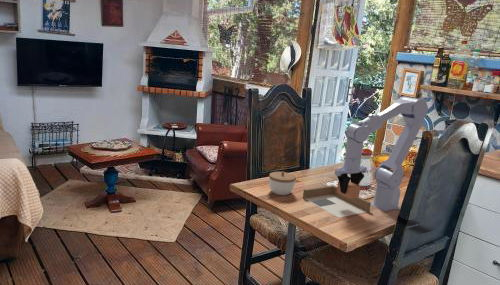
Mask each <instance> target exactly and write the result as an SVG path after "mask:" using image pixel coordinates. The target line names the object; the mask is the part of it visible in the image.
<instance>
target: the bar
mask: <svg viewBox="0 0 500 285" xmlns="http://www.w3.org/2000/svg"><path fill="white" fill-rule="evenodd" d="M336 187H337V193H339V194H341V195H343V196H345V197H347V198H349V199H353V198H358V197H360V193H361V185H360V184H359V185H357V184H355V183H353V182H351V180H350V181H349V184H348V187H347V192H346V194H344V193H342V192H341V190H340V183H339V180H338V181H337V186H336Z"/></svg>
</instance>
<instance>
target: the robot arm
mask: <svg viewBox="0 0 500 285" xmlns="http://www.w3.org/2000/svg"><path fill="white" fill-rule="evenodd" d="M428 111H429V107H428V102H427V101H426V100H425V99H424V98H418V97H416V98H415V97H410V96H407V95H403V96H401V97H400V98H397V99H396V100H395V102H394V103H393V104H391V105H389V106H388V107H387V108H386V109H384V110H382V111H381V112H380V113H378V114H376V113H373V114H372V113H370V114H368V116H367V117H365V118H364V119H363V120H359V121H358V122H357V123H351V124H349V126H348V127H347V128H346V130H344V136H346V148H345V155H344V164H343V165H342V167H340V168H338V169H334V175H335V176H336V177H337V180H338V181H339V183H340V190H341V192H342V193H344V194H346V192H347V187H348V184H349V181H350V182H353V183H355V184H357V185H360V183H361V182H362V180H363V179H364V177H365V174H366V173H367V170H368V168H367V167H366V166H363V165H362V166H361V162H362V154H363V149H364V142H366V141H367V140H368V138H369V136H370V135H371V134H373V133H374V132H376V131H379V129H382V127H383V125H384V123H385V122H387V121H389V120H390V119H392V118H395V117H397V116H398V115H401V117H402V118H403V119H404V122H405V124H404V127H403V128H402V130H401V132H400V134H399V136H398V138H397V140H396V142H395V144H394V146H393V148H392V150H391V152H390V155H389V156H388V158H387V159H386V160H384V161H382V162H380V165H379V166H378V167H377V168H375V170H374V172H373V178H374V180H375V184H376V185H375V186H376V187H375V192H374V198H373V201H372V202H371V205H370V206H373V207H375V208H377V209H379V210H381V211H383V212H385V211H387V212H388V211H392V210H399V209H400V206H399V202H400V197H401V189H400V186H401V184H402V182H403V177H404V174H405V170H404V168H403V163H404V162H405V159H406V157H407V156H408V154H409V152H410V150H411V147H412V146H413V144H414V142H415V140H416V138H417V136H418V134H419V131H420V130H421V128H422V126H423V123H424V119H425V117H426V115H427V113H428ZM363 173H365V174H363Z"/></svg>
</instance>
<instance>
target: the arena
mask: <svg viewBox="0 0 500 285" xmlns="http://www.w3.org/2000/svg"><path fill="white" fill-rule="evenodd" d="M302 199H304V200H306V201H308V202H309V203H312V204H313V205H315V206H317V207H318V208H320V209H322V210H324V211H325V212H328V213H329V214H331V215H333V216H335V217H337V218H338V219H339V218H344V217H348V216H352V215H353V216H354V215H358V214H363V213H368V212H370V210H371V206H372V205H371V203H372V202H371V201H370V200H366V199H365V198H362V197H360V196H359V197H358V198H353V199H349V198H347V197H345V196H343V195H341V194H339V193H337V186H336V185H334V184H332V185H325V186H319V187H318V186H317V187H311V188H304V189H303V192H302ZM320 199H328V200H330V201H332V202H334V203H336V204H332V205H326V206H321V207H320V206H318V205H316V204H315V203H313V202H311V201H314V200H320Z"/></svg>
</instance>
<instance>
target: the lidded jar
mask: <svg viewBox="0 0 500 285" xmlns="http://www.w3.org/2000/svg"><path fill="white" fill-rule="evenodd" d="M268 176H269V177H268V183H269V184H268V185H269V189H270V190H271V192H272V193H273V194H275V195H278V196H288V195H289V194H291V193H292V192H293V190H294V187H295V185H296V178H297V177H296V176H295V175H294V174H293V173H290V172H285V171H273V172H270V173H269V175H268Z"/></svg>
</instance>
